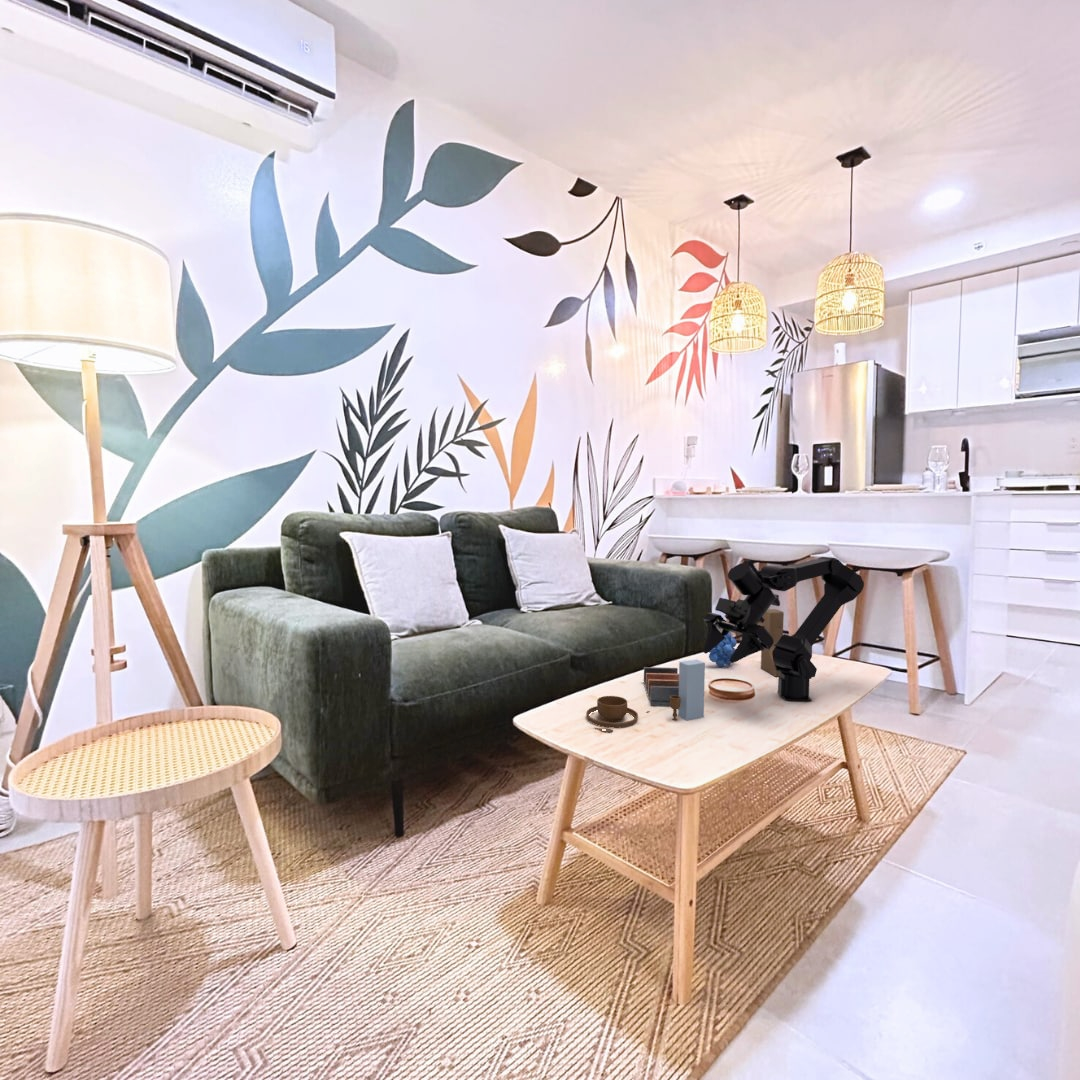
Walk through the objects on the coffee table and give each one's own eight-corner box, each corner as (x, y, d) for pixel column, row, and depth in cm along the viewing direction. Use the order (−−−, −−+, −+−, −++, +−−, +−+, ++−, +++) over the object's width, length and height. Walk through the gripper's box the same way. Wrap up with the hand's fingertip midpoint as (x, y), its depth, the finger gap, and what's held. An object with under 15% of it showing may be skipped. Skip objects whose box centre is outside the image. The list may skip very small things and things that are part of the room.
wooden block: (790, 676, 173) (792, 614, 172) (775, 677, 172) (777, 615, 171) (774, 667, 182) (776, 608, 181) (760, 668, 181) (762, 609, 180)
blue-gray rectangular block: (695, 713, 144) (696, 659, 143) (703, 717, 141) (705, 662, 140) (678, 716, 142) (679, 661, 141) (686, 720, 139) (687, 665, 138)
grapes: (715, 672, 177) (717, 632, 176) (700, 667, 183) (701, 627, 182) (746, 668, 182) (747, 628, 181) (730, 662, 188) (731, 624, 187)
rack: (676, 683, 167) (676, 667, 166) (688, 707, 148) (688, 689, 148) (643, 682, 167) (643, 666, 167) (651, 706, 149) (651, 688, 148)
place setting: (605, 705, 151) (605, 681, 151) (683, 720, 141) (683, 695, 140) (571, 727, 136) (572, 702, 136) (656, 746, 126) (656, 719, 125)
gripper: (709, 580, 153) (673, 627, 149) (765, 591, 136) (726, 644, 132) (733, 609, 157) (698, 655, 153) (790, 623, 140) (752, 675, 136)
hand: (717, 657), depth 144 cm, fingers open, 9 cm apart
